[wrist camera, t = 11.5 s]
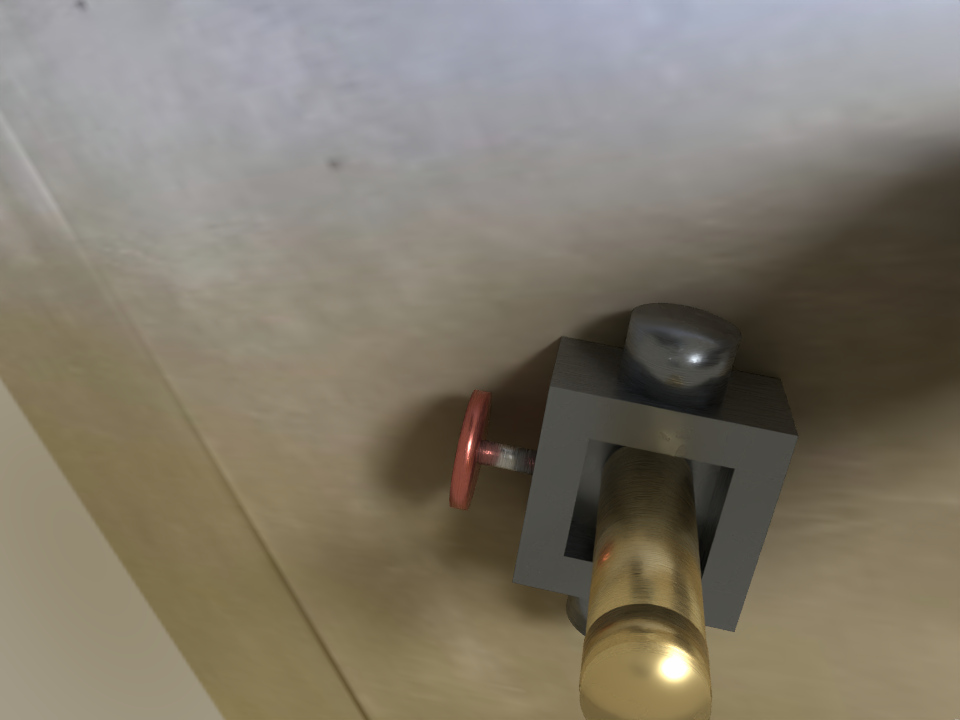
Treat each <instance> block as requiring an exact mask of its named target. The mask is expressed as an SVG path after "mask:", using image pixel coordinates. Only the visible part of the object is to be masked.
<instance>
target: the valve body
mask: <svg viewBox="0 0 960 720" xmlns="http://www.w3.org/2000/svg"><path fill="white" fill-rule="evenodd" d="M740 339H741V334H740V332H739V330H738V329H737V328H736V327H735V326H734V325H732V324H731V323H730V322H728V321H727V320H725V319H723V318H721V317H719V316H717V315H714V314H712V313H709V312H706V311H703V310H700V309H696V308H692V307H688V306H683V305H677V304H668V303H651V304H644V305H641V306H638V307H636V308H635V309H634V310H633V311H632V314H631V319H630V323H629V328H628V332H627V337H626V341H625V345H624V349H623V348H618V347H613V346H608V345H603V344H598V343H592V342H587V341H582V340H577V339H572V338H567V337H562V338H561V342H560V346H559V350H558V354H557V358H556V362H555V367H554V371H553V375H552V379H551V383H550V388H549V393H548V398H547V403H546V408H545V414H544V419H543V424H542V429H541V435H540V440H539V445H538V450H537V451H534V450H530V449H525V448H520V447H515V446H511V445H506V444H501V443H496V442H491V441H487V440H486V437H487V432H488V426H489V420H490V413H491V404H492V393H491V392H486V391H481V390H476V389H475V390H474V391H473V393H472V395H471V398H470V401H469V404H468V407H467V410H466V414H465V417H464V421H463V425H462V429H461V433H460V437H459V442H458V447H457V451H456V456H455V462H454V467H453V473H452V480H451V487H450V499H449V503H450V507H452V508H457V509H461V510H466V511H467V510H468V508H469V506H470V503H471V500H472V497H473V494H474V490H475V487H476V483H477V479H478V475H479V470H480V466H481V464H483V465H488V466H493V467H498V468H502V469H507V470H512V471H516V472H521V473H526V474H531V475H533V477H532V482H531V487H530V492H529V497H528V503H527V508H526V513H525V518H524V524H523V529H522V534H521V539H520V545H519V550H518V555H517V560H516V566H515V571H514V576H513V581H512V582H513V583H517V584H522V585H526V586H531V587H535V588H540V589H544V590H549V591H553V592H558V593H562V594H567V595H568V599H567V604H566V612H567V615H568V618H569V620H570V622H571V623H572V624H573V626H574V627H575V628H576V629H577V630H578V631H579V632H580V633H582V634H583V635H584V636H586V626H587V616H588V606H589V596H590V586H591V576H592V565H593V555H594V545H595V535H596V525H597V515H598V505H599V494H600V484H601V475H602V471H603V467H604V465H605V463H606V462H607V460H608V459H609V457H610V456H611V455H612V454H613V453H615V452H616V451H617V450H619V449H620V448H622V447H624V446H627V447H632V448H637V449H642V450H647V451H652V452H657V453H661V454H666V455H671V456H676V457H681V458H684V459H685V460H686V461H687V463H688V465H689V466H690V469H691V471H692V475H693V483H694V495H695V508H696V520H697V533H698V545H699V557H700V570H701V582H702V595H703V607H704V620H705V626H709V627H714V628H718V629H723V630H727V631H732V632H735V628H736V625H737V622H738V619H739V616H740V613H741V610H742V607H743V604H744V601H745V598H746V595H747V592H748V589H749V586H750V583H751V580H752V577H753V574H754V570H755V567H756V564H757V561H758V558H759V555H760V552H761V549H762V546H763V543H764V540H765V537H766V534H767V531H768V528H769V525H770V522H771V519H772V515H773V512H774V509H775V506H776V503H777V500H778V497H779V494H780V491H781V488H782V485H783V482H784V479H785V476H786V473H787V470H788V467H789V464H790V460H791V457H792V454H793V451H794V448H795V445H796V442H797V439H798V433H797V430H796V427H795V423H794V420H793V417H792V414H791V411H790V407H789V404H788V401H787V398H786V394H785V391H784V388H783V385H782V381H781V379H776V378H771V377H766V376H761V375H756V374H751V373H746V372H741V371H736V370H732V367H733V364H734V360H735V357H736V353H737V350H738V346H739V343H740Z"/></svg>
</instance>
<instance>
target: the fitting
mask: <svg viewBox="0 0 960 720" xmlns="http://www.w3.org/2000/svg"><path fill="white" fill-rule="evenodd" d="M579 691H580V705H581V709H582V712H583V715H584V716H585V718H586V720H709V719H710V714H711V702H712V689H711V677H710V664H709V653H708V647H707V644H706V632H705V620H704V607H703V595H702V582H701V570H700V557H699V545H698V533H697V520H696V508H695V495H694V483H693V475H692V471H691V469H690V466H689V465H688V463H687V461H686V460H685V459H684V458H681V457H676V456H671V455H666V454H661V453H657V452H652V451H647V450H642V449H637V448H632V447H627V446H624V447H622V448H620V449H619V450H617V451H616V452H615V453H613V454H612V455H611V456H610V457H609V459H608V460H607V462H606V463H605V465H604V467H603V471H602V475H601V484H600V494H599V505H598V515H597V525H596V535H595V545H594V555H593V565H592V576H591V586H590V596H589V606H588V616H587V626H586V636H585V639H584V644H583V653H582V663H581V673H580V683H579Z"/></svg>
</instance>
